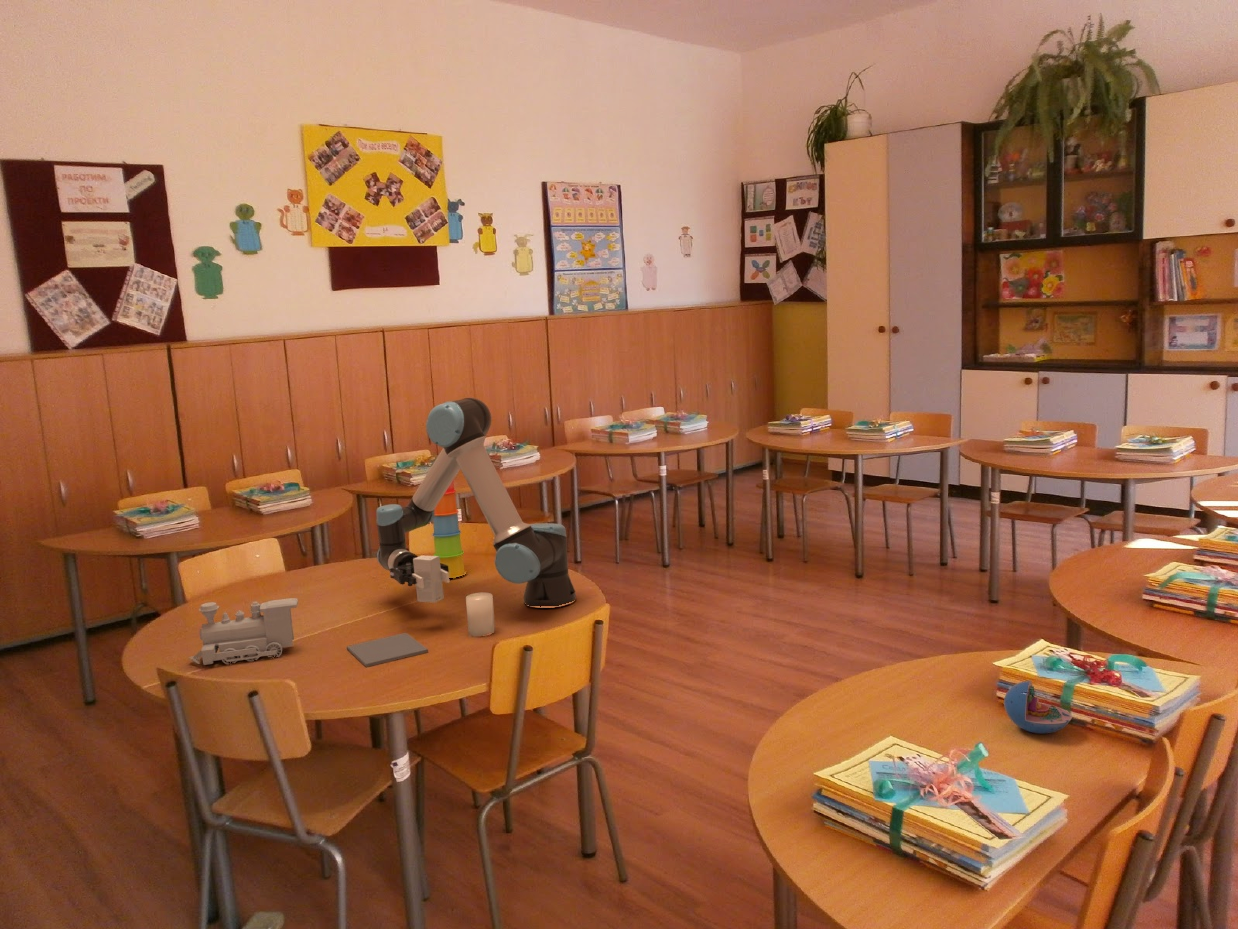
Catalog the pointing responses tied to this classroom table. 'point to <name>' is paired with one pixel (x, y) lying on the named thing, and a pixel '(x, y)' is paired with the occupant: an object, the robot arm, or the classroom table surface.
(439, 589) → the skincare box
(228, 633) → the toy train
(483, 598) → the white pillar candle
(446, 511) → the stacking cups
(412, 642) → the felt mat
